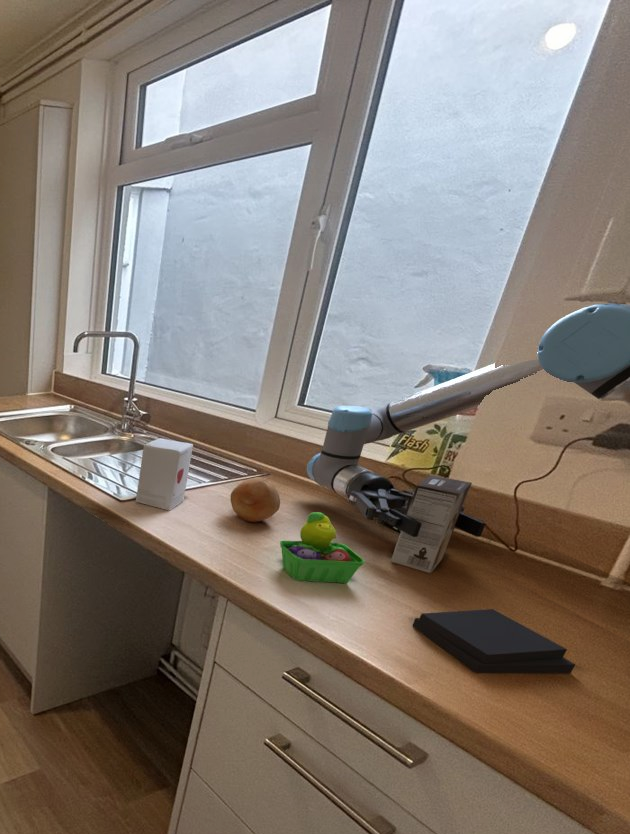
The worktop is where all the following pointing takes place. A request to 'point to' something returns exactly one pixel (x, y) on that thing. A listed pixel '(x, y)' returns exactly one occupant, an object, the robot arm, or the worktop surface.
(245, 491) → the onion
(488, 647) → the black game console
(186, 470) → the rectangular carton
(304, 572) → the fruit basket
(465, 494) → the coffee box
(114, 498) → the worktop surface
